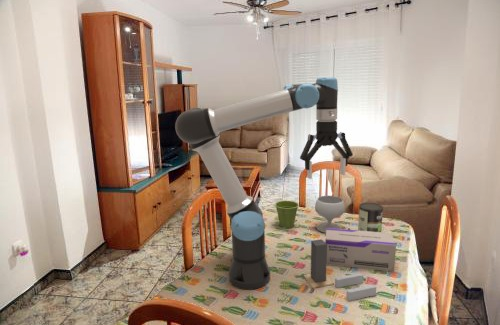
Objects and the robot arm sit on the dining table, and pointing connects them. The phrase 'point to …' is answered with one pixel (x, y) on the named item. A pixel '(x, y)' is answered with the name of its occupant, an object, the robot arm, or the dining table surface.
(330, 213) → the chalice
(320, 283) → the pad
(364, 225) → the coffee can
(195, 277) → the dining table surface
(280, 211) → the plant pot
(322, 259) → the dark grey rectangular block
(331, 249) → the surgical sutures box
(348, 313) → the dining table surface
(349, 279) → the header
